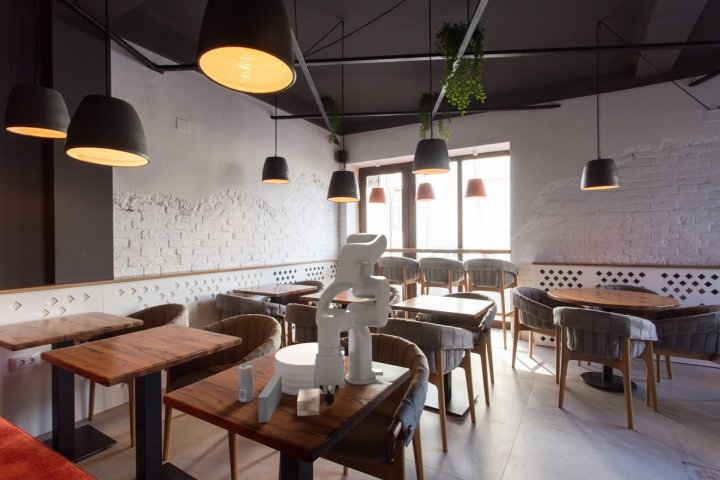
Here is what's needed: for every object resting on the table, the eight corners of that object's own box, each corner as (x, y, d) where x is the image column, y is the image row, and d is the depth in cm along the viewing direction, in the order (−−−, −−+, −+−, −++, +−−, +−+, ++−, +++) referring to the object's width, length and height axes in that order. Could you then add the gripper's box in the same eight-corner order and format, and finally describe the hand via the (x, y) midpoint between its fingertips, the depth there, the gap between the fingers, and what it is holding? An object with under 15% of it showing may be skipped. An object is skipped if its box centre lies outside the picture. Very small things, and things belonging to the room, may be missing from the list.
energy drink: (248, 394, 132) (248, 362, 132) (256, 398, 128) (256, 365, 128) (235, 399, 127) (234, 366, 127) (243, 404, 124) (243, 370, 124)
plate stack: (356, 374, 150) (356, 347, 150) (320, 402, 125) (319, 369, 125) (303, 364, 163) (302, 339, 163) (260, 387, 138) (259, 358, 138)
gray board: (281, 396, 130) (281, 375, 130) (267, 422, 112) (267, 397, 112) (273, 396, 130) (273, 375, 130) (258, 422, 112) (258, 397, 112)
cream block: (319, 402, 125) (319, 388, 125) (318, 415, 116) (318, 400, 116) (299, 403, 124) (299, 389, 124) (297, 416, 116) (297, 401, 115)
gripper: (351, 346, 124) (352, 399, 124) (308, 347, 124) (309, 399, 124) (350, 353, 116) (351, 409, 116) (305, 354, 116) (305, 409, 116)
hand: (329, 404), depth 120 cm, fingers closed
